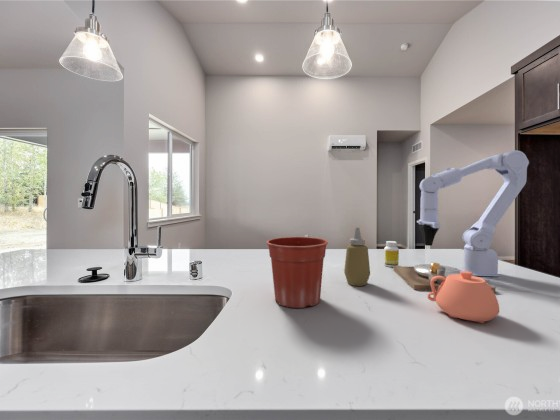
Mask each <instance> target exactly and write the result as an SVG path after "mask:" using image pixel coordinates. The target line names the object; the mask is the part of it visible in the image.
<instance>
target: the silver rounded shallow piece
mask: <svg viewBox="0 0 560 420" xmlns="http://www.w3.org/2000/svg"><path fill="white" fill-rule="evenodd" d="M413 267H414V272H416V273H417V274H420V275H423V276H427V277H429V280H431V279H432V278H433V277H435V276H437V270H438V269H440V270H445V278H446V277H447V276H449V275H451V274H460V271H461V270H459V269H460V268H457V267H452V266H448V265H441V264H440V263H438V262H430V264H429V263H423V264H422V263H421V264H416V265H414V266H413ZM436 280H437V279H436ZM436 280H435V281H436Z"/></svg>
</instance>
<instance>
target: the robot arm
mask: <svg viewBox="0 0 560 420" xmlns="http://www.w3.org/2000/svg"><path fill="white" fill-rule="evenodd" d="M529 164H530V161H529V159H528V158H527V155H526V154H525V153H524V152H523V151H521V150H516V149H513V150H510V151H508V152H506V153H505V152H503V153H500V154H496V155H492V156H489V157H485V158H483V159H481V160H478V161H476V162H473V163H471V164H469V165H465V166H464V167H461V168H456V167H452V168H450V167H446V168H445V169H444V171H441V172H438V173H433V174H431V176H428V177H426V178H423V179H422V180H421V181H420V183H419V186H418V187H419V189H420V191H421V192H420V205H419V206H420V210H419V211H420V216H419V217H420V218H419V219H418V220H416V223H418V225H420V226H418V228H419V229H418V230H420V233H421V235H422V240H423V243H424V246H426V247H427V246H430V247H431V246H433V243H434V241H435V240H434V239H435V237H436V234H437V233H438V231H439V229H441V222H439V218H438V217H439V216H438V215H439V213H438V212H439V211H438V210H439V208H438V207H439V196H438V193H439V190H440V189H445V188H447V187H450V186H452V185H455V184H458V183H460V182H461V181H462V178H464V177H466V176H468V175H471V174H475V173H477V172H480V171H483V170H490V171H491V170H495V171H496V173H498V174H499V175H500V176H501V178H502V181H503V184H502V185H501V187H500V188H499V189H498V191H497V193H496V194H495V196H494V197H493V198H492V200H491V201H490V203H489V204H488V206H487V208H486V209H485V210H484V211H483V212H482V215H481V216H479V217H480V218H479V219H478V220H477V221H476V222H475V223H474V224H472V225H471V227H469V228H468V229H467V230H465V231H464V232H463V234H462V237H461V238H462V241H463V243H465V245H464V246H463V268H458V269H459V270H461V271H469V272H472V273H473V275H472V276H476V277H500V274H499V273H498V271H499V269H498V268H499V257H498V253H497V252H496V251H495V250H494V249H492V248H491V249H490V247H491V245H492V243H493V237H494V235H495V232H496V231H495V227H497V225H498V224H499V222H500V221H501V219H502V218H503V217H504V215H505V214H506V212H507V211H508V210H509V208H510V207H511V205H512V203H514V201H515V199H516V198H517V196H518V195H519V193H520V192H522V189H523V188H524V187H525V185H526V183H527V174H528V173H527V172H528V171H527V170H528V166H529ZM421 225H422V226H421Z"/></svg>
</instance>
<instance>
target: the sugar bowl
mask: <svg viewBox="0 0 560 420" xmlns="http://www.w3.org/2000/svg"><path fill="white" fill-rule="evenodd" d="M472 275H473V273H472V272H469V271H460V274H451V275H449V276H447V277H446V278H445V277H443V276H435V277H433V278H432V279H431V282H430V284H431V288H432V292H431V291H430V292H428V293H427V296H426V297H427V299H428V300H430V301H431V302H436V304H437V306H438V307H439V308H440V310H441V311H442V312H444V313H446V314H448V317H450V318H453V319H454V318H455V319H458V318H459V319H461V320H465V321H470V322H475V323H480V324H485V322H489V321H491V320H493V319H494V318H496V317H497V316H498V315H499V313H500V304H499V300H498V298H497V296H496V293H494V292H493V291H492V289H491V288H490V286H489V285H490V284H489V283H488V282H487V281H486V280H485V279H484V278H482V277H480V276H472ZM436 279H442V280H444V281H443V282H442V283H441V285H440V286H439V288H438V290H437V291H436V290H435V287H434V281H435V280H436ZM488 284H489V285H488ZM431 295H432V296H433V297H432V296H431Z"/></svg>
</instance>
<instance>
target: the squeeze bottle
mask: <svg viewBox="0 0 560 420" xmlns="http://www.w3.org/2000/svg"><path fill="white" fill-rule="evenodd" d="M365 244H366V239H365V238H362V234H361V230H360V227H355V229H354V233H353V236H352V238H349V245H347V246H346V252H345V261H344V263H345V264H344V269H343V270H344V271H343V272H344V276H345V279H346V281H347V284H349V285H351V286H355V287H356V286H357V287H361V286H363V287H364V286H366V285H367V284H368V281H369V278H370V276H371V270H370V269H371V268H370V257H369V256H370V255H369V248H368V246H367V245H365Z"/></svg>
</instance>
